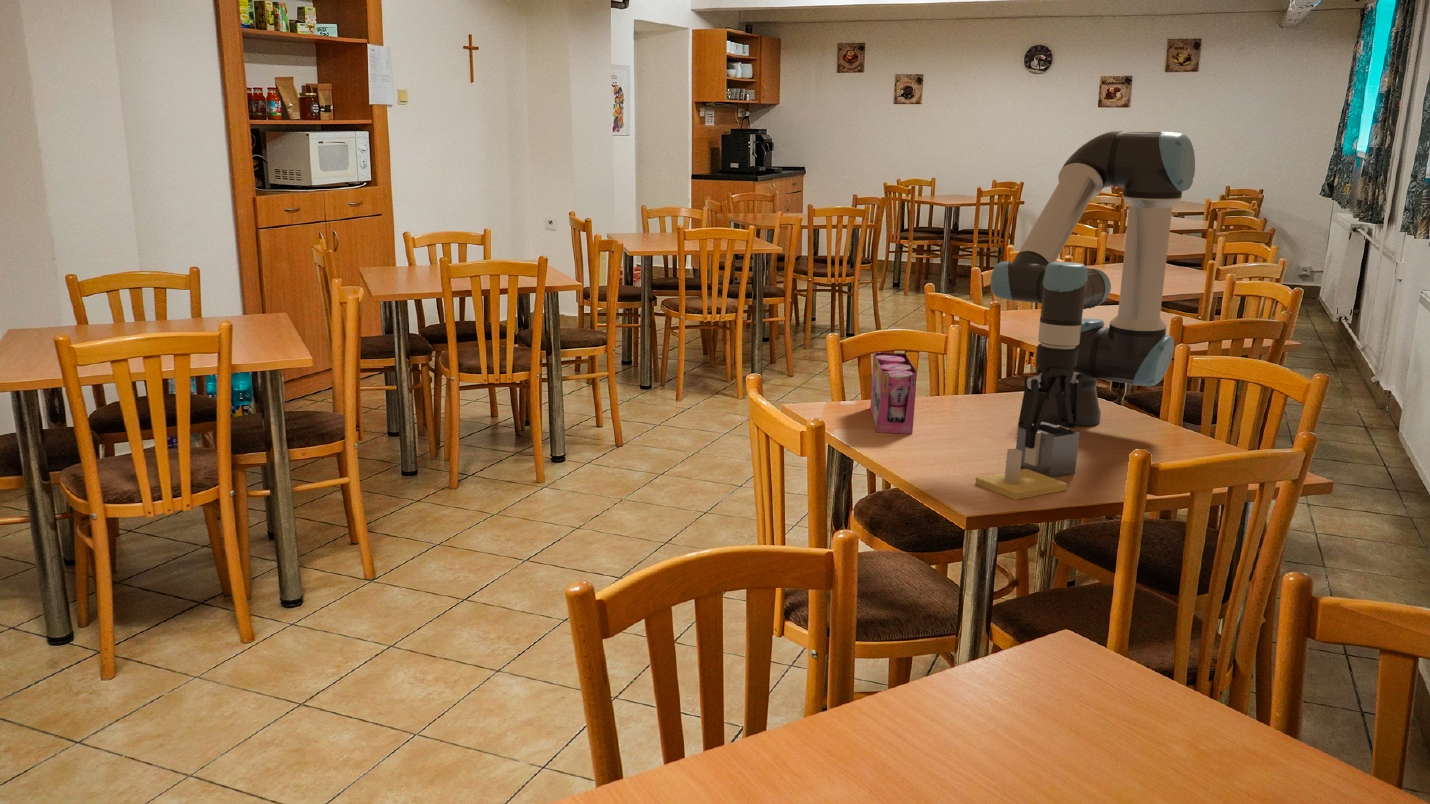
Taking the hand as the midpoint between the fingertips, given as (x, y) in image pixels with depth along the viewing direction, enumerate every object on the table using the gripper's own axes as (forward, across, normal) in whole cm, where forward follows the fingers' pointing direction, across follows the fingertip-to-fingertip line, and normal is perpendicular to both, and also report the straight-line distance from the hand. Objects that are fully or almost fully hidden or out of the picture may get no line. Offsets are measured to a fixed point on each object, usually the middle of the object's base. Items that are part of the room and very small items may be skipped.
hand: (1045, 461), depth 205 cm
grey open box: (+2, 0, 0) cm, 2 cm away
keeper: (+2, +13, +6) cm, 14 cm away
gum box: (+2, +4, -42) cm, 42 cm away
